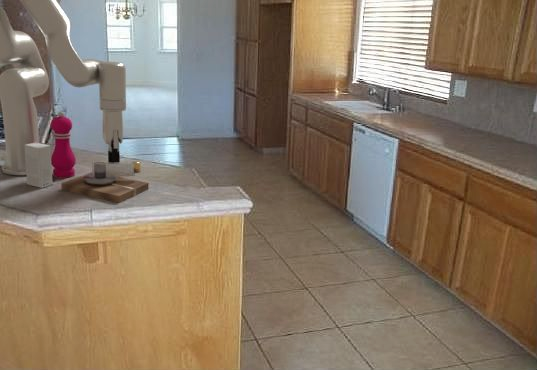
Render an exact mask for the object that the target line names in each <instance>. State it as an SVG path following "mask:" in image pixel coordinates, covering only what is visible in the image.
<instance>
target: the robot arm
mask: <svg viewBox="0 0 537 370" xmlns="http://www.w3.org/2000/svg"><path fill="white" fill-rule="evenodd" d="M19 1H20V3H21V4H22V5H23V7H24V8H25V10H26V11H27V12H28V14H29V15H30V17H31V18H32V19H33V22H34V23H35V24H36V26H37V27H38V29H39V30H40V31H41V33H42V34H43V36H44V38H45V39H44V40H45V44H46V45H45V46H46V48H47V51H48V55H49V57H50V59H51V61H52V63H53V65H54V66H55V68H56V70H57V71H58V72H59V74H60V76H62V78H63V79H64V80H65V81H66V82H67V84H69V85H70V86H72V87H75V88H86V87H88V86H93V85H94V86H95V85H98V89H99V90H98V92H99V110H100V111H102V134H101V135H102V139H103V142H104V143H105V144H107V145H108V146H107V147H108V150H107V157H108V158H107V160H108V161H107V163H112V162H121V161H120V158H121V157H120V154H121V153H120V145H121V144H122V143H123V142H124V141H123V139H124V135H123V134H124V131H123V130H124V128H123V127H124V125H123V123H124V122H123V118H124V117H123V112H125V111H127V97H126V96H127V92H126V91H127V89H126V87H127V85H126V84H127V80H126V78H127V75H126V66H125V64H124V63H123V62H119V61H103V60H98V59H95V58H84V59H81V57H80V56H79V55H78V53H77V52H76V50H75V48H74V47H73V45H72V43H71V38H70V31H71V28H72V21H71V19H70V18H69V17H68V16H67V14H66V12H65V11H64V9H63V8H62V7H61V5H60V3H61V1H62V0H19ZM42 59H43V58H42V57H41V53H40V51H39V49H38V46H37V43H36V42H35V41H34V39H33V38H32V37H31V36H30V35H29V34H28V33H26V32H23V31H20V30H14V29H13V27H12V25H11V23H10V19H9V16H8V15H7V13H6V11H5V9H4V8H3V7H2V5H1V4H0V65H12V66H13V68H8V69H6V70H4V71H3V72H1V74H0V104H1V110H2V122H3V131H4V141H5V142H4V144H5V152H3V153H2V155H0V161H3V162H4V165H2V167H1V171H2V173H4V174H6V175H10V176H11V175H13V176H27V174H26V160H25V147H24V145H26V144H31V143H35V142H36V143H40V138H39V137H40V135H39V120H38V111H37V108H36V105H35V101H34V99H33V98H36V97H39V96H41V95H43V94H45V93H46V92H47V91H48V89H49V86H50V77H49V75H48V71H47V69H46V67H45V64H44V61H43V60H42Z"/></svg>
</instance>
